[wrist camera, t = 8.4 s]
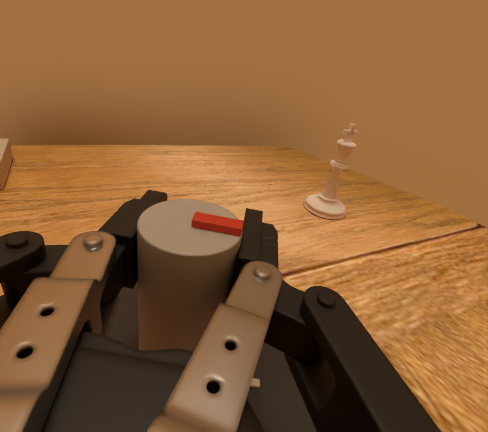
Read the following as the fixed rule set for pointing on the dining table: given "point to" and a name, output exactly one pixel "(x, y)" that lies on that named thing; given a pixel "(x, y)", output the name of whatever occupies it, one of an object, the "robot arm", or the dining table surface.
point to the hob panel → (263, 383)
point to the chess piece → (333, 182)
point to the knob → (183, 270)
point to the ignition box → (5, 160)
